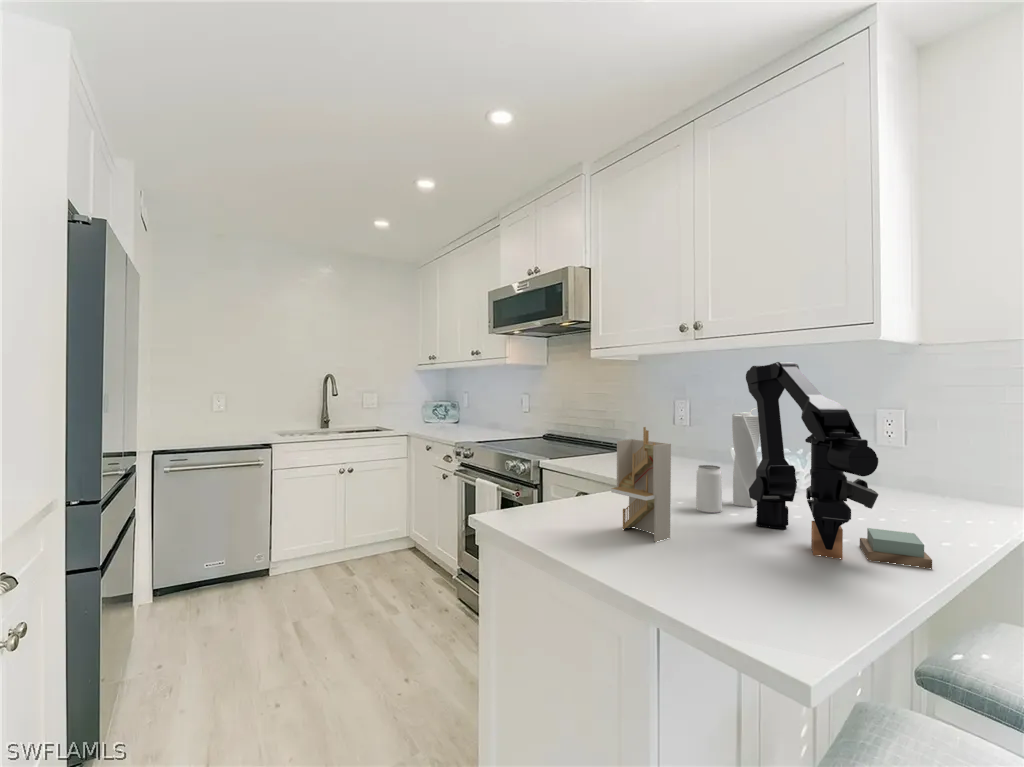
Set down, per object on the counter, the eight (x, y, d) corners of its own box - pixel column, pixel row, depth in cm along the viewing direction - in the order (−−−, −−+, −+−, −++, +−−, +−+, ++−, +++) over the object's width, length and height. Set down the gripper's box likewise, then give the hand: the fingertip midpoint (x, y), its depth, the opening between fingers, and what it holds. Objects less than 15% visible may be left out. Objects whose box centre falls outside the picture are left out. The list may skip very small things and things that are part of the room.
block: (813, 555, 104) (813, 526, 104) (811, 548, 108) (811, 520, 108) (842, 559, 102) (842, 529, 101) (839, 552, 106) (839, 523, 106)
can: (725, 513, 136) (725, 468, 136) (701, 513, 136) (701, 468, 136) (716, 507, 142) (716, 464, 142) (692, 507, 143) (693, 464, 142)
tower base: (868, 564, 101) (868, 551, 101) (859, 549, 110) (859, 537, 110) (932, 572, 96) (932, 559, 96) (917, 556, 105) (917, 544, 105)
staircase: (629, 528, 124) (630, 423, 124) (670, 540, 115) (671, 427, 114) (607, 533, 119) (608, 425, 119) (648, 547, 110) (648, 429, 110)
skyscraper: (764, 504, 147) (764, 406, 146) (758, 509, 141) (759, 408, 140) (734, 500, 151) (735, 406, 151) (728, 505, 145) (729, 407, 145)
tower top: (873, 550, 101) (873, 538, 101) (867, 539, 108) (867, 527, 108) (924, 557, 98) (924, 544, 98) (914, 545, 105) (914, 533, 105)
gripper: (884, 478, 93) (883, 563, 93) (866, 463, 110) (865, 535, 110) (813, 473, 98) (813, 554, 98) (806, 459, 115) (805, 529, 115)
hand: (826, 542), depth 105 cm, fingers open, 9 cm apart
